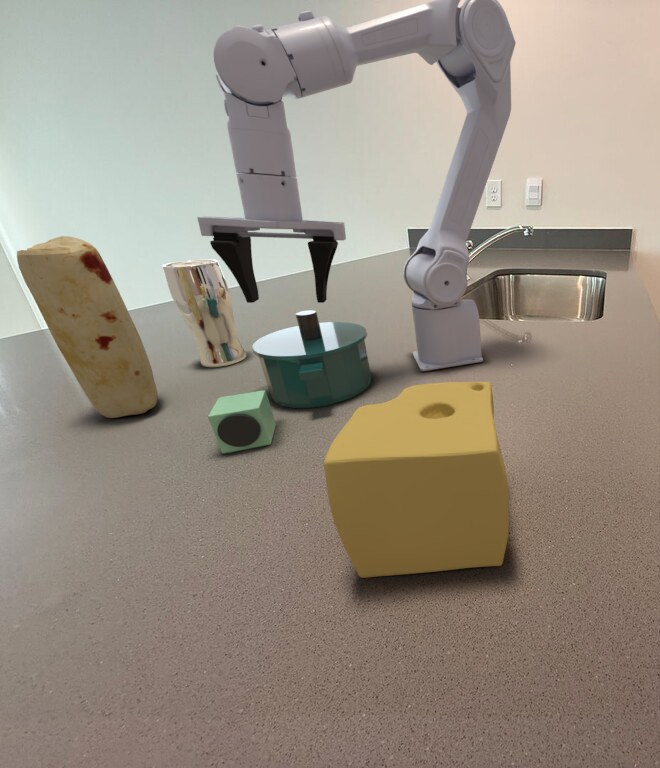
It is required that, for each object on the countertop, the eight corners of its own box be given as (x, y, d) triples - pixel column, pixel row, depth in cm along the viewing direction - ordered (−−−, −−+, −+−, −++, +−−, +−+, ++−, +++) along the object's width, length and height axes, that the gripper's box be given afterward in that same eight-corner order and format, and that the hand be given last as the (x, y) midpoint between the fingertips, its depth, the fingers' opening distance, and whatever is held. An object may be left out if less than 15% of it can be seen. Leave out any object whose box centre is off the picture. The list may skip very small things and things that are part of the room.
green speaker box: (231, 432, 45) (218, 397, 43) (276, 424, 46) (265, 389, 44) (221, 456, 41) (206, 418, 39) (270, 446, 42) (258, 409, 40)
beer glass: (225, 370, 61) (188, 267, 54) (186, 367, 62) (146, 266, 56) (259, 353, 67) (230, 259, 60) (224, 351, 68) (192, 259, 62)
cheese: (381, 485, 36) (361, 383, 32) (502, 476, 37) (498, 376, 33) (349, 587, 27) (314, 463, 22) (512, 573, 27) (508, 450, 23)
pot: (367, 357, 65) (359, 317, 62) (376, 406, 50) (367, 356, 47) (280, 369, 61) (268, 327, 58) (262, 427, 46) (244, 374, 43)
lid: (365, 324, 60) (359, 295, 58) (371, 354, 49) (365, 320, 47) (263, 336, 56) (254, 306, 54) (245, 372, 45) (232, 335, 43)
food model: (182, 406, 51) (111, 236, 42) (113, 430, 46) (17, 243, 37) (149, 388, 55) (80, 233, 47) (84, 409, 50) (-7, 239, 42)
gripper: (170, 168, 39) (205, 308, 44) (333, 178, 42) (347, 308, 48) (203, 173, 45) (230, 295, 50) (342, 182, 49) (354, 296, 54)
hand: (288, 301), depth 49 cm, fingers open, 7 cm apart
